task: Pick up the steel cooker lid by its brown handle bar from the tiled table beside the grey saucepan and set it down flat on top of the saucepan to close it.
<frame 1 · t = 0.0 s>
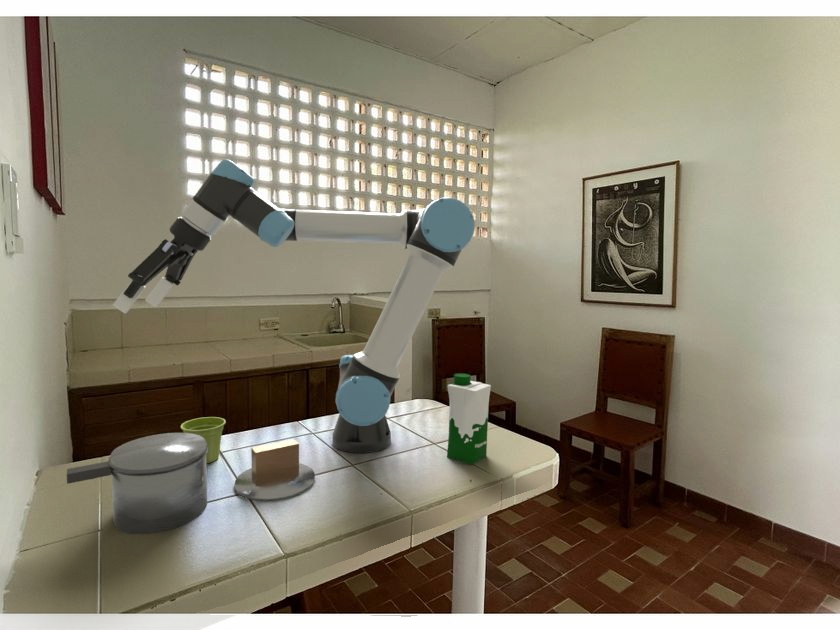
hand: (136, 306, 97), 36 cm above the table, tool tilted 35°, fingers open, 13 cm apart
grey saucepan: (162, 510, 85), on the table
cooker lid: (275, 483, 97), on the table
plant pot: (204, 460, 107), on the table
milk carton: (466, 457, 112), on the table
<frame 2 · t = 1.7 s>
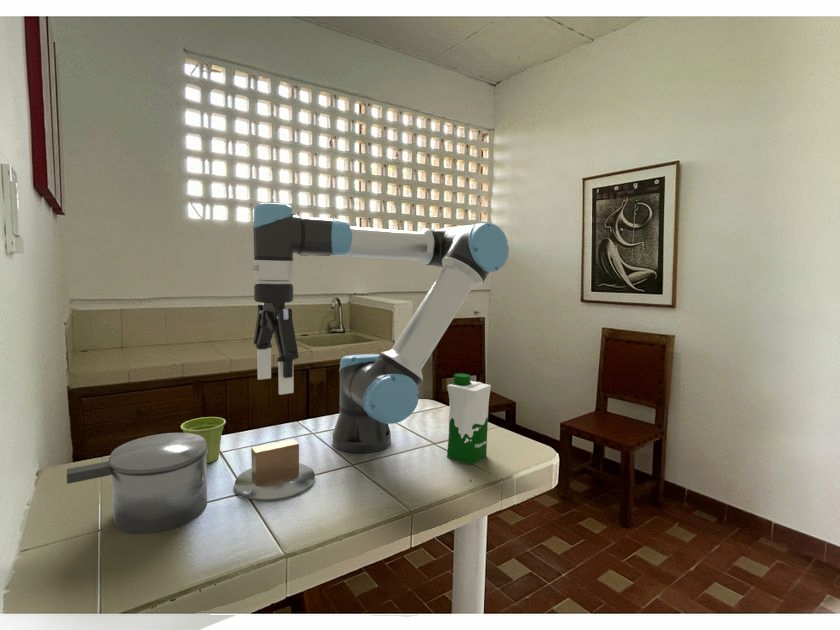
hand: (274, 385, 95), 21 cm above the table, tool pointing down, fingers open, 13 cm apart
nothing on the table moved.
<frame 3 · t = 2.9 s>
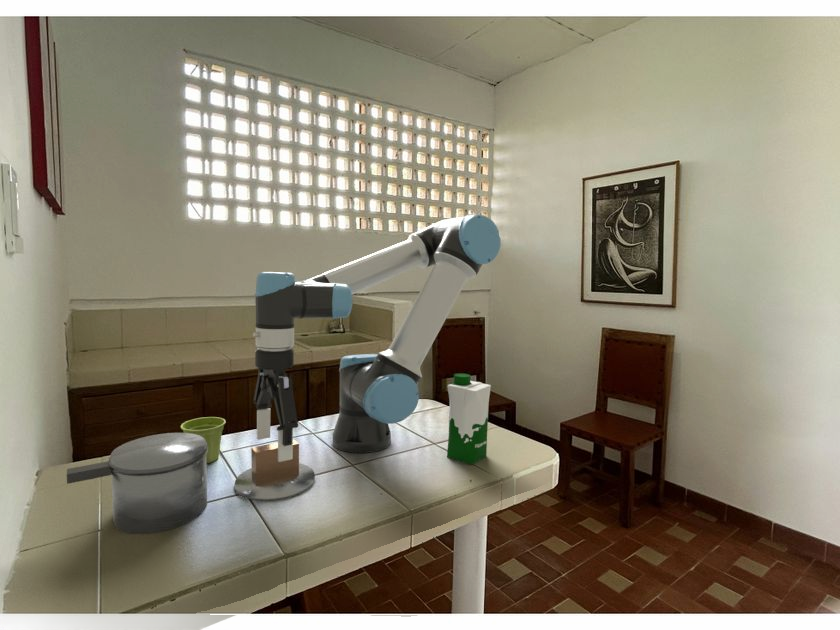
hand: (273, 448, 96), 7 cm above the table, tool pointing down, fingers open, 13 cm apart
nothing on the table moved.
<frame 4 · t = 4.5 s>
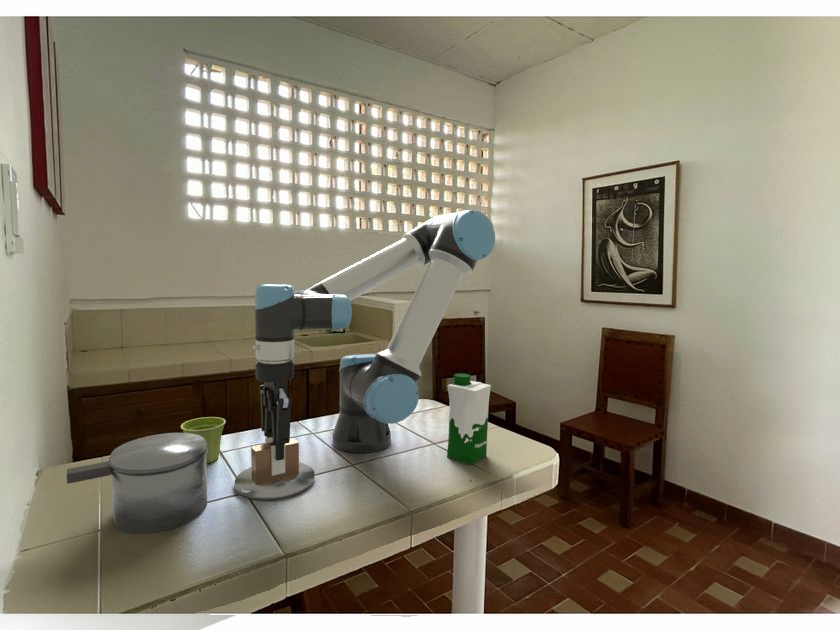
hand: (275, 469, 97), 3 cm above the table, tool pointing down, fingers closed on cooker lid, 3 cm apart
cooker lid: (275, 482, 97), on the table, touching gripper
everything else where it was.
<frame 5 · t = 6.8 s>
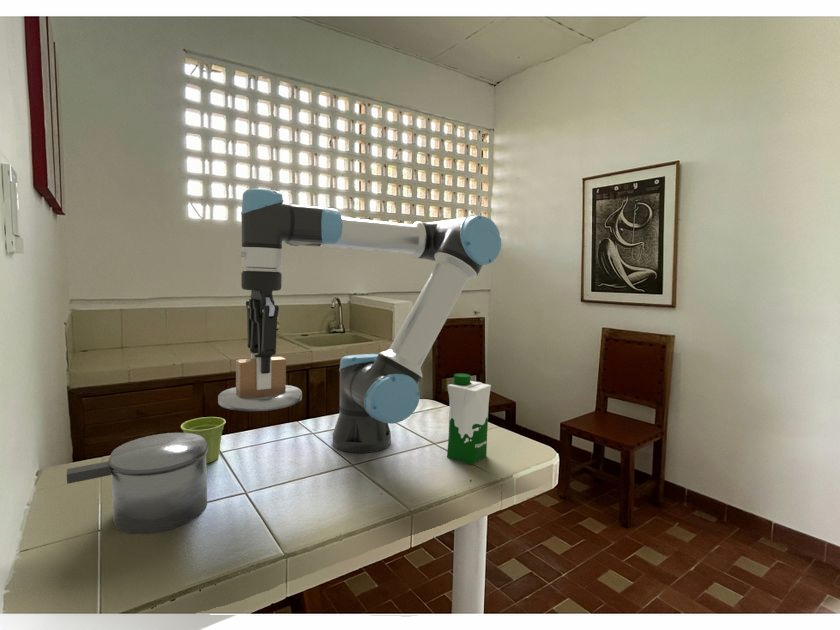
hand: (260, 386, 93), 21 cm above the table, tool pointing down, fingers closed on cooker lid, 3 cm apart
cooker lid: (261, 399, 93), point 18 cm above the table, touching gripper
everything else where it was.
when the fingers open (16 cm above the table, at t = 8.8 s): cooker lid drops 1 cm, resting on grey saucepan.
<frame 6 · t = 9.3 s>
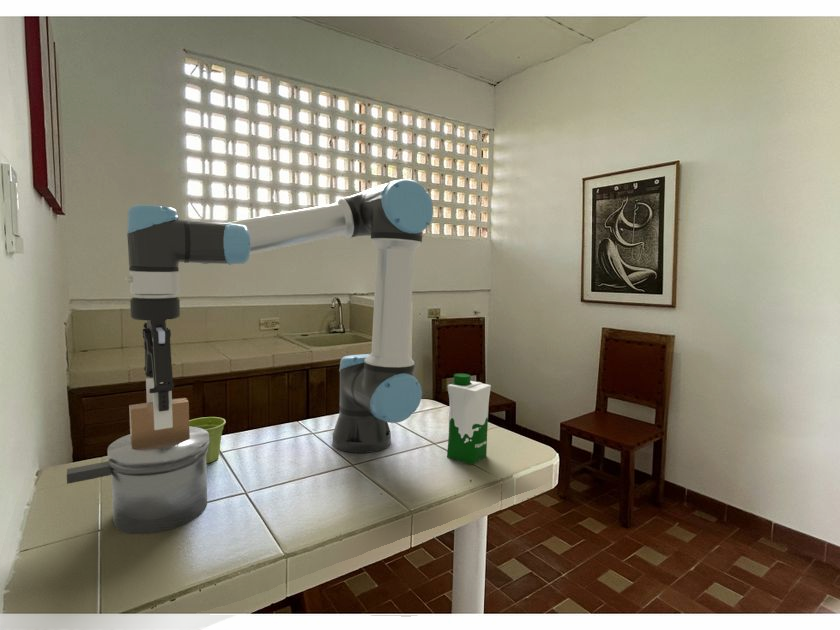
hand: (159, 419, 83), 17 cm above the table, tool pointing down, fingers open, 10 cm apart
cooker lid: (160, 447, 83), point 12 cm above the table, touching grey saucepan
everything else where it was.
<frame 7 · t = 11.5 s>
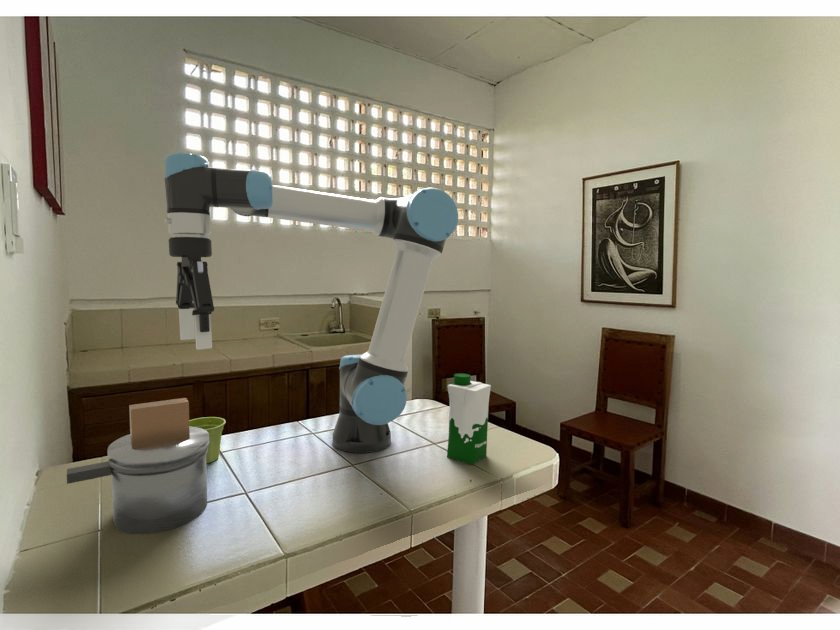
hand: (195, 344, 93), 29 cm above the table, tool pointing down, fingers open, 13 cm apart
nothing on the table moved.
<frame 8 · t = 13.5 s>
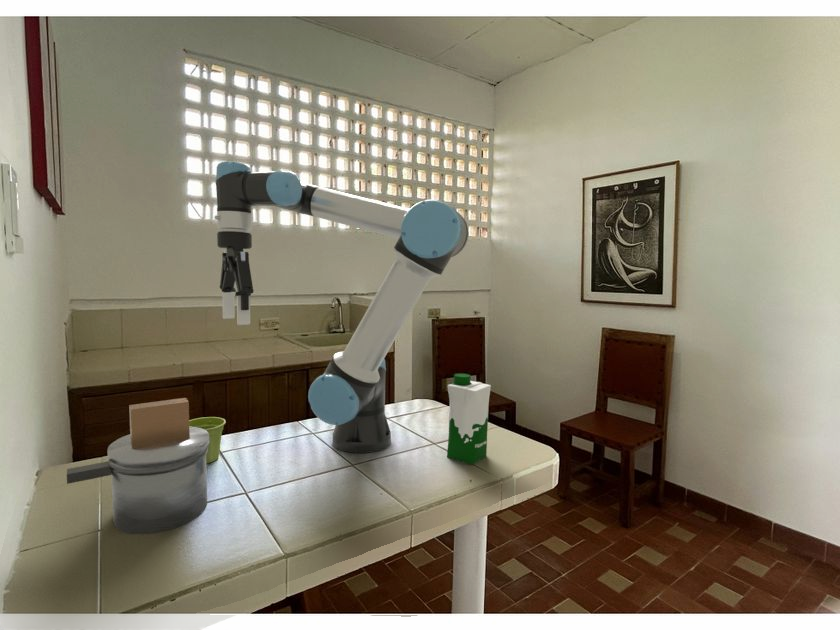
hand: (235, 321, 110), 32 cm above the table, tool pointing down, fingers open, 13 cm apart
nothing on the table moved.
at the end: cooker lid 0.1 cm off-centre on the grey saucepan, point 12.0 cm above the grey saucepan's base; cooker lid tilted 0°; the gripper is holding nothing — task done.
